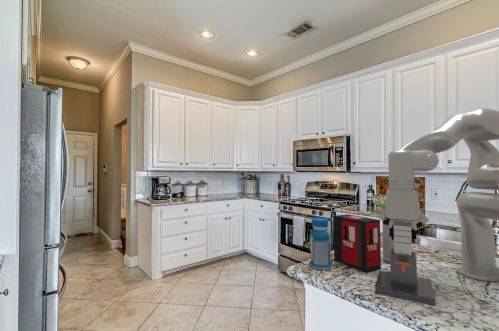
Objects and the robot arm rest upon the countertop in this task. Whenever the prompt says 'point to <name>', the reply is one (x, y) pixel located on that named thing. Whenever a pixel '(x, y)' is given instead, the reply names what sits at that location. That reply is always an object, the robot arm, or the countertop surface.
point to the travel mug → (387, 243)
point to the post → (402, 238)
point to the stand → (405, 280)
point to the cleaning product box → (357, 242)
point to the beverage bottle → (320, 244)
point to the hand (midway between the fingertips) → (402, 239)
